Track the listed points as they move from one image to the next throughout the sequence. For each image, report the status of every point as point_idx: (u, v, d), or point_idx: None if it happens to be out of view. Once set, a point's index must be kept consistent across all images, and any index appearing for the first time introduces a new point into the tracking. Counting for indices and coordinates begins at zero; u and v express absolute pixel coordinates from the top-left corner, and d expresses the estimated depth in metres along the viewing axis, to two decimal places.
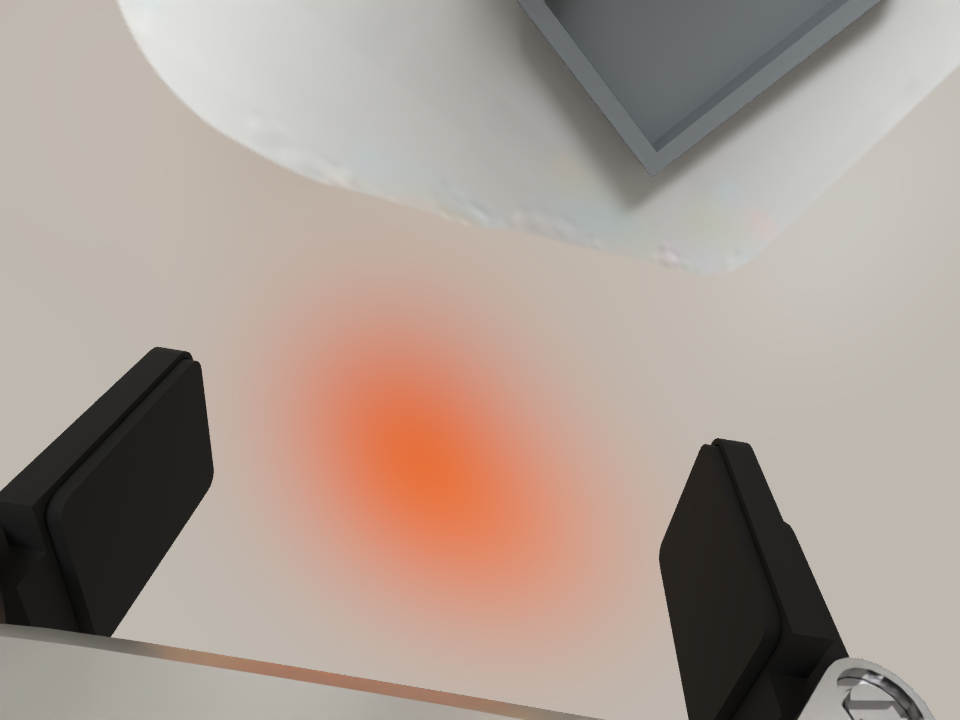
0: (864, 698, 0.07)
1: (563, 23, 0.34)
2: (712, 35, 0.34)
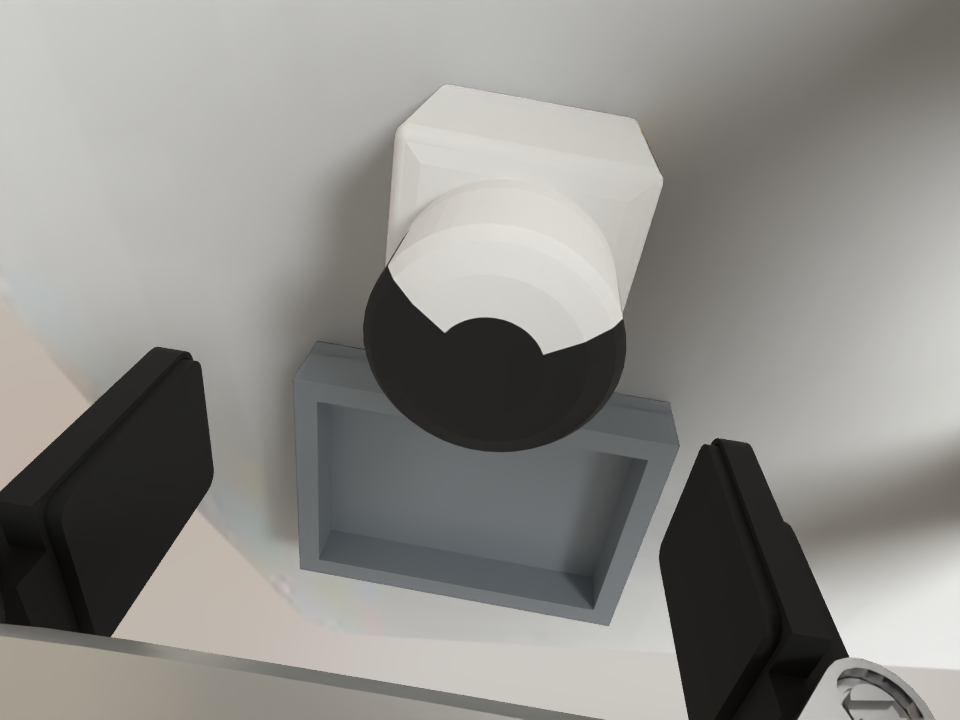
0: (864, 698, 0.07)
1: None
2: (441, 513, 0.32)
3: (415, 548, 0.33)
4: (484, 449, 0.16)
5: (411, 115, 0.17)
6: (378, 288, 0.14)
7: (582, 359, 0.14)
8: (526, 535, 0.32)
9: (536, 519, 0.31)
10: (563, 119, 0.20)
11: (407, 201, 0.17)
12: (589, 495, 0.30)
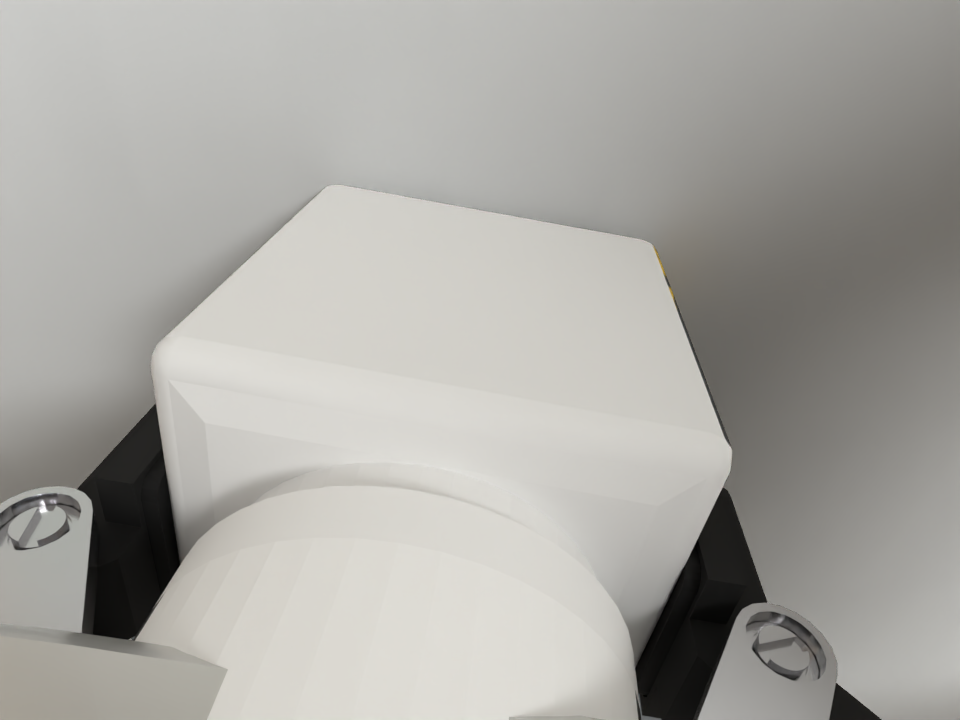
0: (771, 639, 0.08)
1: None
2: None
3: None
4: None
5: (211, 293, 0.09)
6: None
7: None
8: None
9: None
10: (526, 264, 0.11)
11: (194, 481, 0.08)
12: None
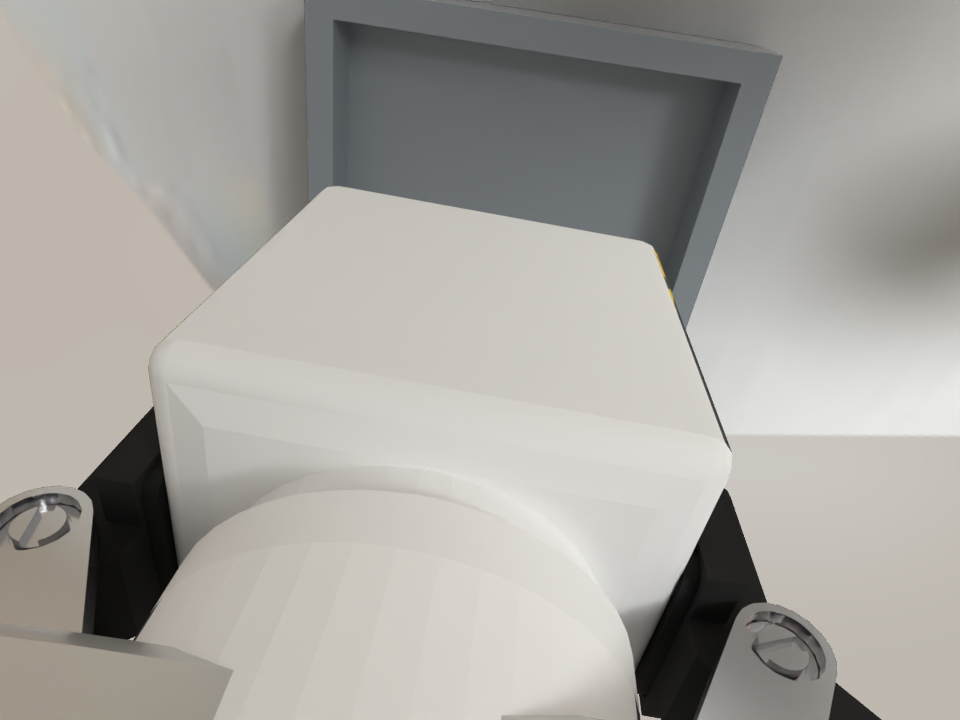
0: (770, 639, 0.08)
1: (351, 61, 0.24)
2: None
3: None
4: None
5: (210, 296, 0.09)
6: None
7: None
8: None
9: (590, 228, 0.27)
10: (525, 266, 0.11)
11: (192, 485, 0.08)
12: (655, 186, 0.25)
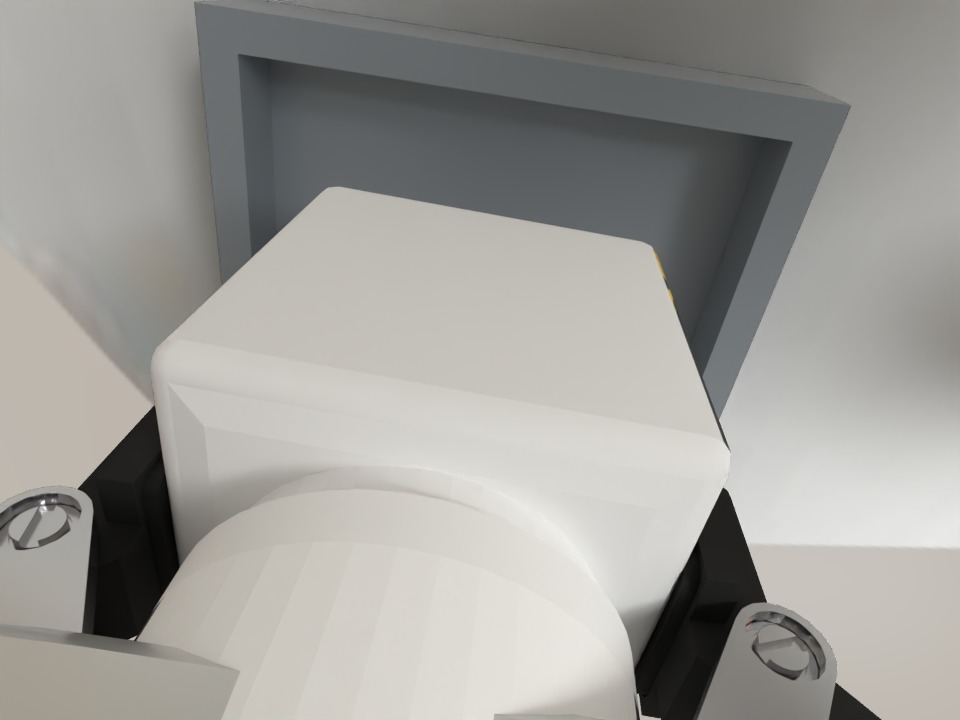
0: (771, 639, 0.08)
1: (273, 105, 0.18)
2: None
3: None
4: None
5: (211, 296, 0.09)
6: None
7: None
8: None
9: None
10: (525, 266, 0.11)
11: (193, 484, 0.08)
12: (672, 262, 0.20)
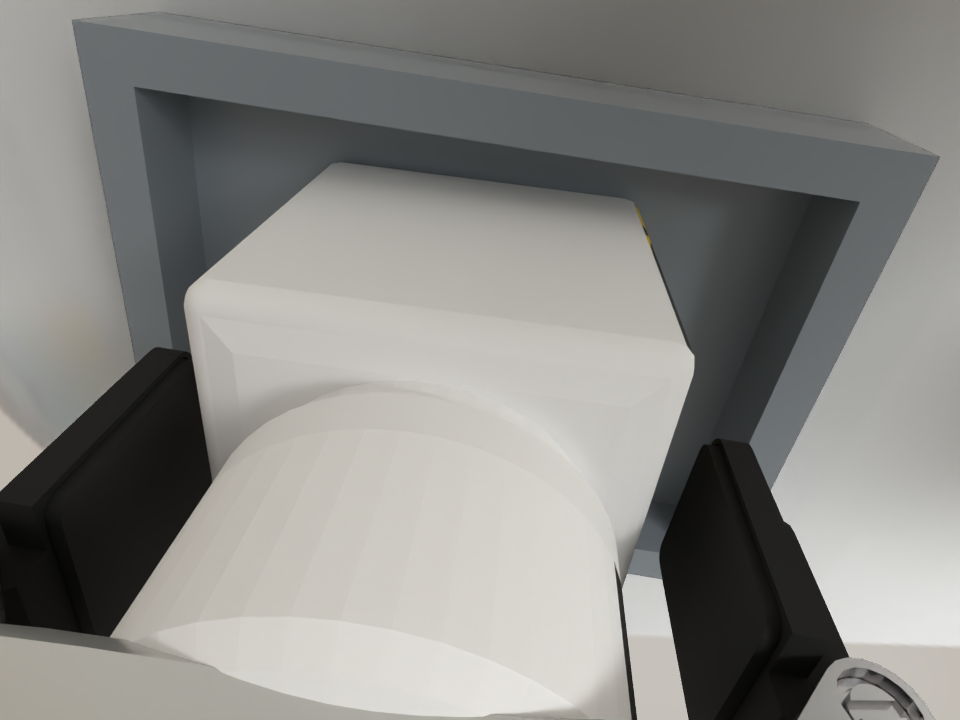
0: (865, 698, 0.07)
1: (196, 146, 0.15)
2: None
3: None
4: None
5: (233, 249, 0.10)
6: None
7: None
8: None
9: None
10: (514, 220, 0.12)
11: (225, 410, 0.09)
12: (694, 336, 0.16)
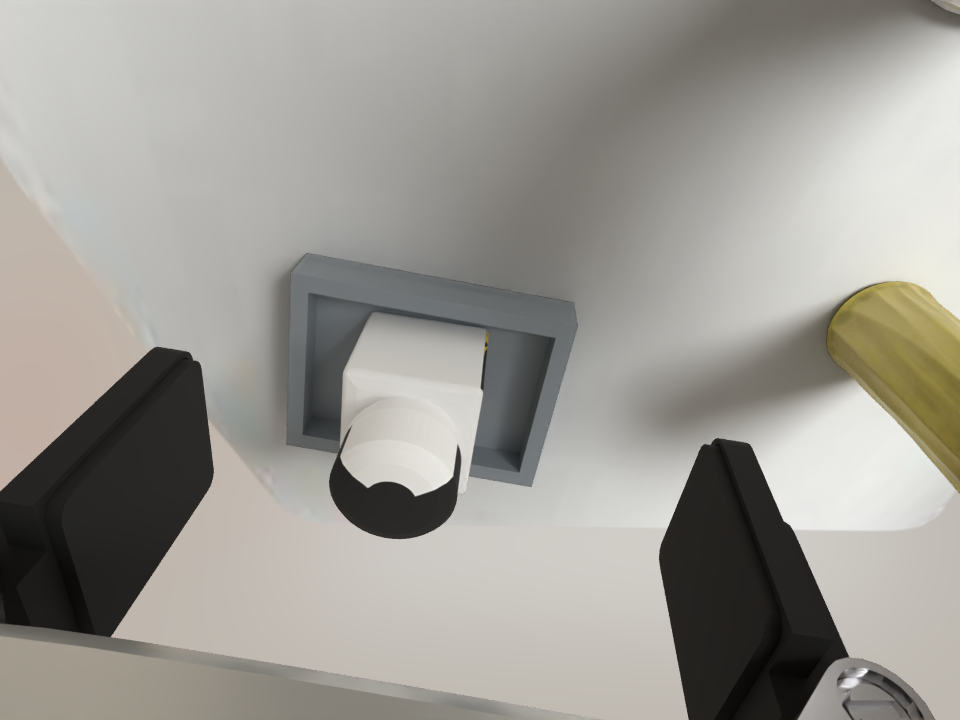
0: (865, 698, 0.07)
1: (318, 302, 0.37)
2: None
3: None
4: (393, 538, 0.31)
5: (351, 356, 0.33)
6: (336, 466, 0.29)
7: (434, 497, 0.29)
8: None
9: None
10: (439, 341, 0.35)
11: (350, 404, 0.32)
12: (515, 379, 0.39)
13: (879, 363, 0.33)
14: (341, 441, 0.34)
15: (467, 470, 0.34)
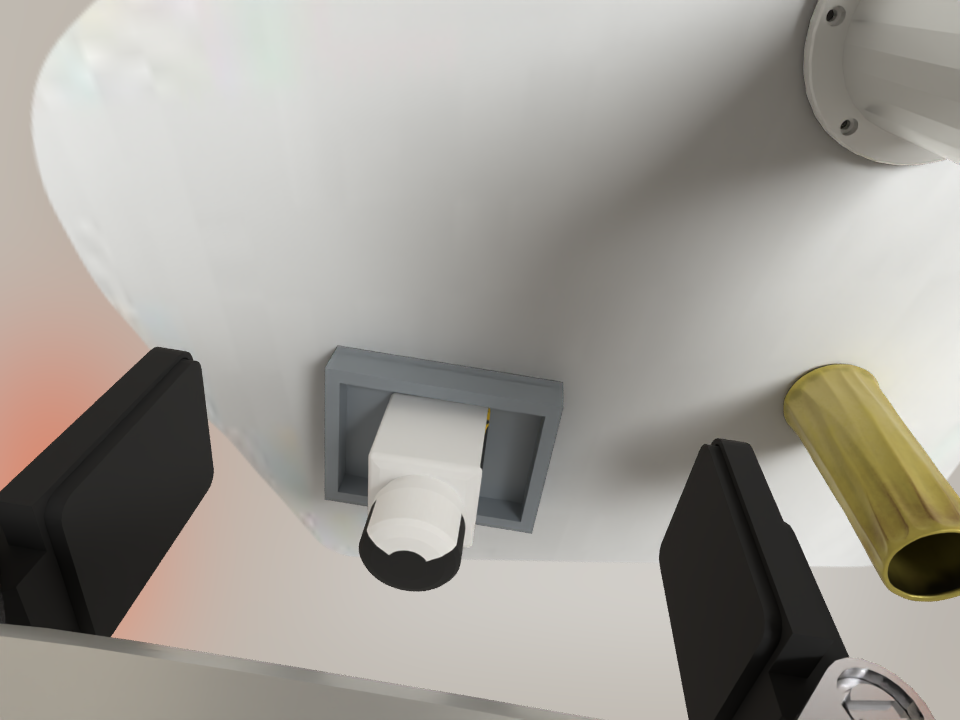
0: (865, 699, 0.07)
1: (348, 385, 0.45)
2: None
3: None
4: (411, 590, 0.38)
5: (375, 439, 0.40)
6: (363, 537, 0.36)
7: (441, 561, 0.36)
8: None
9: None
10: (447, 421, 0.42)
11: (375, 480, 0.40)
12: (515, 444, 0.46)
13: (818, 440, 0.39)
14: (368, 507, 0.41)
15: (472, 529, 0.41)
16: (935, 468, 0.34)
